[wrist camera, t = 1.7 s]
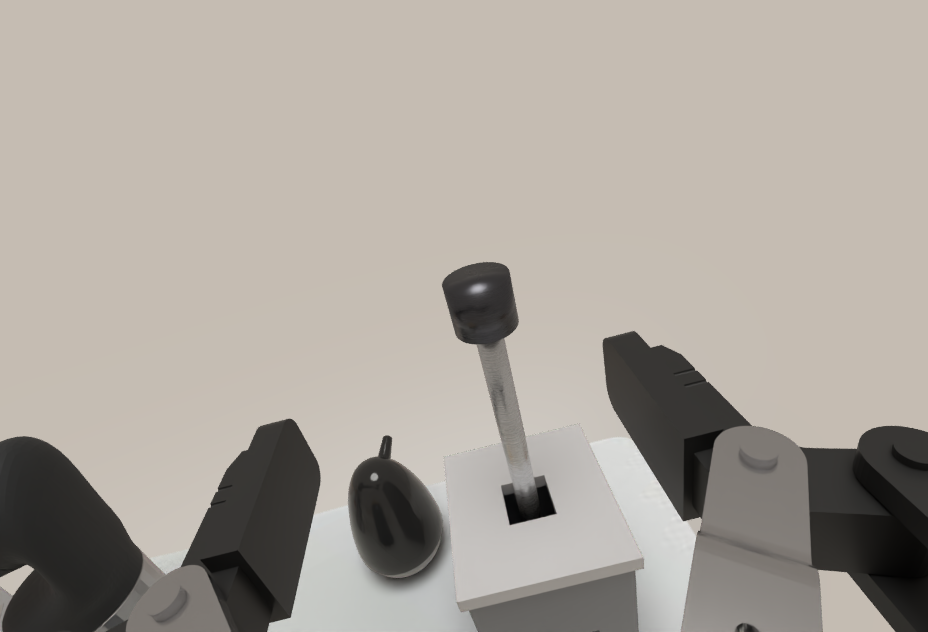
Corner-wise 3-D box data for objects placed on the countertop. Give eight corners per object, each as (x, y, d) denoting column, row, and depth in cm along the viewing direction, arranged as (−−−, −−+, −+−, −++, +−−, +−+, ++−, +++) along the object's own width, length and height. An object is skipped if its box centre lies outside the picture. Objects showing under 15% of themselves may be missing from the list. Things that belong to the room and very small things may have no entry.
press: (513, 731, 38) (456, 602, 28) (488, 570, 50) (441, 438, 40) (648, 699, 38) (643, 557, 27) (590, 545, 50) (571, 406, 39)
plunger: (509, 633, 34) (404, 333, 20) (493, 541, 41) (405, 267, 27) (606, 610, 34) (568, 291, 20) (574, 522, 41) (528, 235, 27)
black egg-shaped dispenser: (457, 511, 58) (426, 427, 50) (440, 596, 49) (399, 510, 41) (385, 509, 60) (345, 429, 53) (356, 590, 52) (304, 508, 44)
